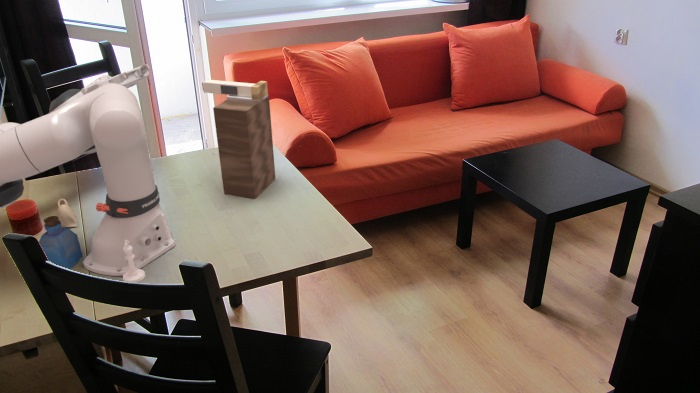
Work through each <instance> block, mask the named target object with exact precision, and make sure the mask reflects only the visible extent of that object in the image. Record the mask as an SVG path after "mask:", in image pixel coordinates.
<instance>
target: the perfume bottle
mask: <svg viewBox="0 0 700 393" xmlns="http://www.w3.org/2000/svg"><path fill="white" fill-rule="evenodd" d="M43 222H44V225H43V227H44V229H45V232H44V233H42V234H41V237H39V238H40V239H39V240H38V243H40V245H41V247H42V249H43V251H44V252H45V254H46V256H47V258H48V260H49V261H51V262H52V263H54V264H56V265H59V266H62V267H65V268H68V269H70V270H71V269H72V268H73V267H75V265H76V264H77V263H78V262H79V261H80V260H81V259H82V258H83V257H84V255H83V250H82V248H81V247H82V246H81V244H80V240H79V237H78V234H77V233H76V232H74V231H72V230H71V229H70V227H61V226H62V225H61V220H60V219H59V217H58V215H50V216H47V217H45V218H43Z"/></svg>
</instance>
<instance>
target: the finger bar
mask: <svg viewBox="0 0 700 393" xmlns="http://www.w3.org/2000/svg"><path fill="white" fill-rule="evenodd" d="M255 84H256V83H254V82H253V83H250V82H242V81H241V82H238V81H231V80H230V81H228V80H217V79H206V80H204V81H202V82H201V85H202V91H203V93H206V94H216V95H225V96H229V95H235V96H245V97H252V94H251V86H253V85H255Z"/></svg>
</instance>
